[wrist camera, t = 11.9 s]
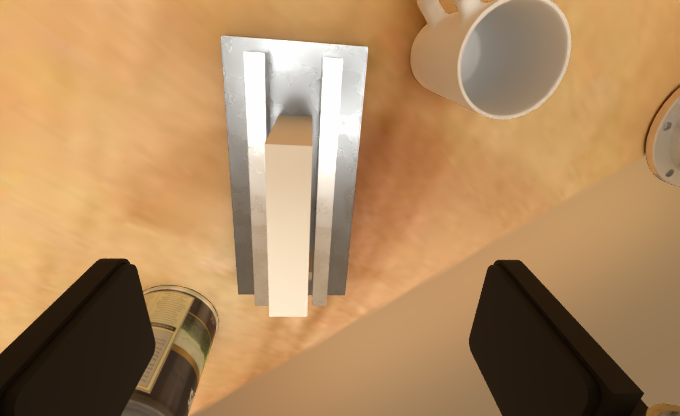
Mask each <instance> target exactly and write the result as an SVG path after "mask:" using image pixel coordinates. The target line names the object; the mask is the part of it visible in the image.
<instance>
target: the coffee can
mask: <svg viewBox="0 0 680 416" xmlns="http://www.w3.org/2000/svg"><path fill="white" fill-rule="evenodd" d="M143 295H144V298H145V302H146V306H147V310H148V314H149V318H150V322H151V326H152V330H153V333H154V337H155V342H156V347H155V352H154V355H153V357H152V359H151V361H150V363H149V364H148V366H147V368H146V370H145V372H144V374H143V376H142V377H141V379H140V381H139V383H138V385H137V387H136V388H135V390H134V392H133V394H132V396H131V398H130V400H129V401H128V403H127V405H126V407H125V409H124V411H123V413H122V414H121V416H188V413H189V410H190V407H191V405H192V401H193V398H194V396H195V392H196V389H197V386H198V383H199V380H200V377H201V374H202V371H203V368H204V365H205V362H206V359H207V356H208V354H209V351H210V348H211V345H212V342H213V339H214V336H215V334H216V332H217V329H218V316H217V313H216V311H215V309H214V307H213V306H212V304H211V303H210V302H209V301H208V300H207V299H206V298H205V297H203V296H202V295H200V294H199V293H197V292H195V291H193V290H190V289H188V288H184V287H180V286H169V285H166V286H157V287H154V288H150V289H148V290H146V291H144V292H143Z"/></svg>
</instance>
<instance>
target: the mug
mask: <svg viewBox="0 0 680 416" xmlns="http://www.w3.org/2000/svg"><path fill="white" fill-rule="evenodd" d="M453 1H454V3H455V5H456V7H457V9H458V11H457V12H454V13H450V14H448V13H446V12H445V11H444V9H443V8H442V6H441V4H440V2H439V0H417V5H418V7H419V9H420V11H421V12H422V14H423V16H424V18H425V19H426V22H427V24H426V25H425V26H424V27H423V28H422V29H421V30H420V32H419V33H418V35H417V36H416V38H415V40H414V42H413V45H412V48H411V53H410V64H411V69H412V72H413V75H414V77H415V78H416V80H417V81H418V82H419V84H421V85H422V86H423V87H424V88H426V89H428V90H430V91H432V92H433V93H435V94H438V95H440V96H442V97H444V98H446V99H448V100H450V101H453V102H455V103H457V104H459V105H461V106H463V107H465V108H467V109H470V110H472V111H474V112H477V113H479V114H481V115H483V116H485V117H488V118H492V119H499V120H506V119H513V118H517V117H520V116H523V115H525V114H528V113H530V112H532V111H533V110H535V109H536V108H538V107H539V106H540V105H542V104H543V103H544V102H545V101H546V100H547V99H548V98H549V97H550V96H551V95H552V93H553V92H554V91H555V90H556V88H557V87H558V85H559V84H560V82H561V80H562V78H563V76H564V74H565V72H566V69H567V66H568V63H569V59H570V54H571V33H570V28H569V25H568V22H567V19H566V17H565V15H564V14H563V12H562V11H561V9H560V8H559V7H558V6H557V5H556V4H555V3H554V2H552V1H551V0H494V1H491V2H487V3H484V2H482V1H481V0H453Z"/></svg>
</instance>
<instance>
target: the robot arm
mask: <svg viewBox="0 0 680 416" xmlns="http://www.w3.org/2000/svg"><path fill="white" fill-rule="evenodd" d="M646 160H647V163H648V166H649V168H650V170H651V171H652V172H653V174H654V175H655V176H656V177H658V178H659V179H660V180H662V181H664V182H667V183H669V184H671V185H675V186H679V187H680V87H679V88H678V89H677V90H676V91H675V92H674V93H673V94H672V95H671V96H670V98H669V99H668V100H667V101H666V102H665V103H664V105H663V106H662V108H661V109H660V111H659V112H658V114H657V115H656V117H655V119H654V121H653V123H652V125H651V127H650V131H649V134H648V137H647V142H646ZM469 346H470V350H471V352H472V355H473V357H474V359H475V361H476V363H477V364H478V367H479V369H480V371H481V373H482V375H483V376H484V379H485V381H486V383H487V385H488V387H489V389H490V391H491V393H492V395H493V397H494V399H495V401H496V404H497V406H498V408H499V410H500V412H501V414H502V416H680V407H679V406H677V405H670V404H665V403H662V404H654V405H652V406H651V407H649V408H648V407H647V406H646V405H645V403H644V402H643V401H642V400H641V397H642V396H643V394H644V393H643V392H642V391H641V390H640V388H639V387H637V385H636V384H635V383H634V382H633V381H632V380H631V379H630V378H629V377H628V375H627V374H626V373H624V371H623V370H622V369H621V368H620V367H619V366H618V365H617V364H616V363H615V361H614V360H613V359H612V358H611V357H610V356H609V355H608V354H607V353H606V352H605V351H604V350H603V349H602V347H601V346H600V345H598V343H597V342H596V341H595V340H594V339H593V338H592V337H591V336H590V335H589V333H588V332H587V331H586V330H585V329H584V328H583V327H582V326H581V325H580V324H579V323H578V322H577V321H576V319H575V318H573V316H572V315H571V314H570V313H569V312H568V311H567V310H566V309H565V308H564V307H563V306H562V304H561V303H560V302H559V301H558V300H557V299H556V298H555V297H554V296H553V295H552V294H551V293H550V292H549V290H548V289H547V288H546V287H545V286H544V285H543V284H542V283H541V282H540V281H539V280H538V279H537V278H536V276H535V275H534V274H533V273H532V272H531V271H530V270H529V269H528V268H527V267H526V266H525V265H524V264H523V263H522V262H521V261H520V260H497V261H495V263H494V265H491V266H489V267H488V269H487V273H486V277H485V281H484V284H483V288H482V292H481V295H480V299H479V303H478V307H477V310H476V314H475V318H474V322H473V326H472V329H471V333H470V337H469ZM155 347H156V342H155V337H154V333H153V330H152V326H151V322H150V318H149V314H148V310H147V306H146V302H145V298H144V295H143V291H142V287H141V283H140V279H139V275H138V271H137V268H136V266H135V265H133V264H130V262H129V261H128V260H127V259H99V260H98V261H96V262H95V263H94V264H93V265H92V266H91V267H90V268H89V269H88V270H87V271H86V272H85V273H84V274H83V275H82V276H81V277H80V278H79V279H78V280H77V281H76V282H75V283H74V284H73V285H71V286H70V287H69V288H68V289H67V290H66V291H65V292H64V293H63V294H62V295H61V296H60V297H59V298H58V299H57V300H56V301H55V302H54V303H53V304H52V305H51V306H50V307H49V308H48V309H47V310H46V311H44V312H43V313H42V314H41V315H40V316H39V317H38V318H37V319H36V320H35V321H34V322H33V323H32V324H31V325H30V326H29V327H28V328H27V329H26V330H25V331H24V332H23V333H22V334H21V335H20V336H19V337H17V338H16V339H15V340H14V341H13V342H12V343H11V344H10V345H9V346H8V347H7V348H6V349H5V350H4V351H3V352H2V353H1V354H0V416H121V414H122V413H123V411H124V409H125V407H126V405H127V403H128V401H129V400H130V398H131V396H132V394H133V392H134V390H135V388H136V387H137V385H138V383H139V381H140V379H141V377H142V376H143V374H144V372H145V370H146V368H147V366H148V364H149V363H150V361H151V359H152V357H153V355H154V352H155Z"/></svg>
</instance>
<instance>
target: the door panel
mask: <svg viewBox="0 0 680 416" xmlns="http://www.w3.org/2000/svg"><path fill="white" fill-rule="evenodd" d="M264 145H265V181H266V217H267V253H268V288H269V317H299V316H307V303H308V280H312V252H309V241H310V209H311V178H312V147H313V121H312V117H309V116H290V115H278V117H277V119H276V121H275V123H274V125H273V127H272V130H271V132H270V134H269V136H268V138H267V140H266V142H265V144H264Z"/></svg>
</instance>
